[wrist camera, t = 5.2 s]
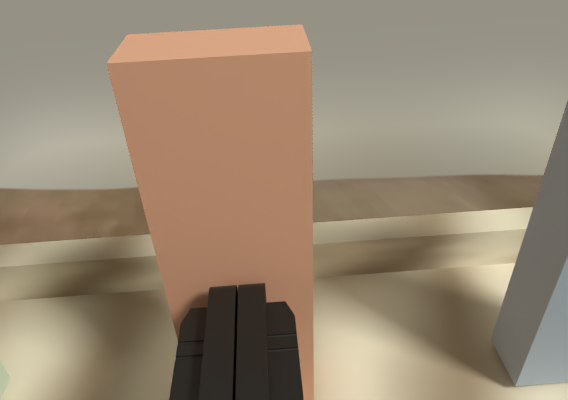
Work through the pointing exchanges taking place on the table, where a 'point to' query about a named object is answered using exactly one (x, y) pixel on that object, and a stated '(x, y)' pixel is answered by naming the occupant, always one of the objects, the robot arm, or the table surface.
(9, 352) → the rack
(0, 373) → the pale green block
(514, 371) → the light blue tall bar
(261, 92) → the orange rectangular block
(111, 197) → the table surface
